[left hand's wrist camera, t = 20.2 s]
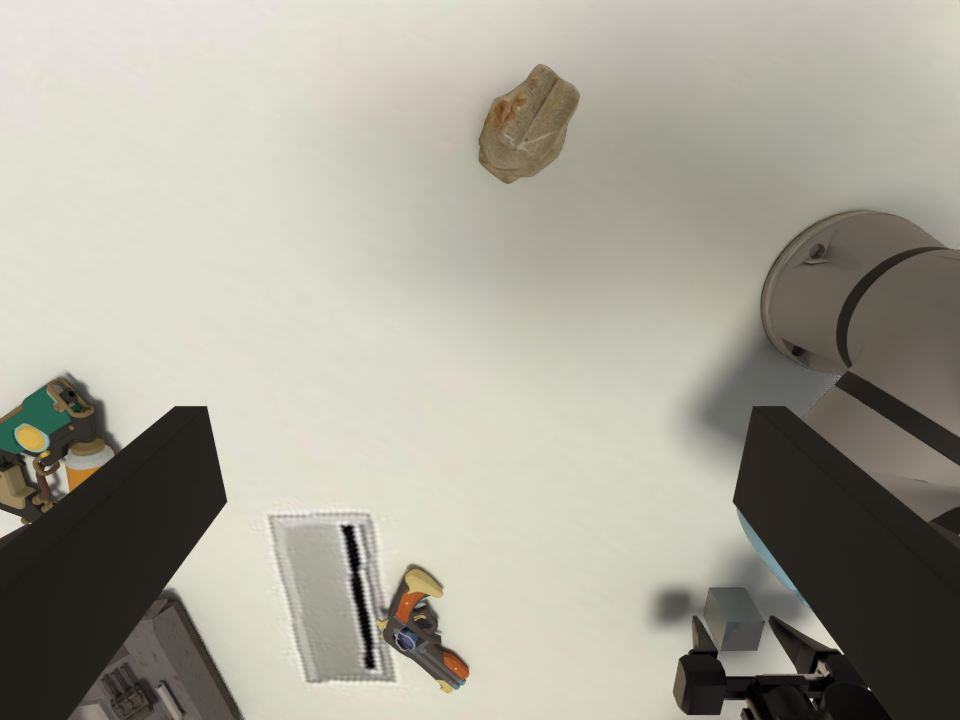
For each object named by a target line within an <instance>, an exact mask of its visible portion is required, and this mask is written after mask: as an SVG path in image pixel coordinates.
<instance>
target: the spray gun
mask: <svg viewBox="0 0 960 720" xmlns="http://www.w3.org/2000/svg"><path fill="white" fill-rule="evenodd" d="M55 382H60V383H61V384H63V385H64V387H65V388H66V389H67V390H63V389H62V388H61V387H60V386H59V385H56V384H53V383H55ZM77 401H78V402H79V403H80V404H75V403H76V402H77ZM80 405H81V406H82V407H83V408H84V409H88V410H81V411H80V407H81V406H80ZM74 439H76V440H78V441H77V442H75V443H74V444H73V445H72V447H71V450H72V451H71V452H70V453H69V454H68V448H69V442H71V441H72V440H74ZM22 451H23V452H25V453H27V454H29V455H31V456H34V457H36V458H35V459H34V461H33V467H34V469H35V470H36V477H37V481H38V484H39V486H40V488H41V490H42V492H41V493H39V494H38V493H37V492H36V490H35V489H34V488H31V487H28V486H26V484H25V481H24V478H23V475H22V472H21V469H20V467H19V466H25V465H26V462H24V461H22V460H21V458H20V453H21V452H22ZM67 454H68V455H67ZM66 455H67V459H66V464H65V465H66V471H67V477H68V483H69V490H70V492H71V491H72V490H73V489H75V488H76V487H77V486H78V485H79V484H81V483H82V482H83V481H84V480H86V479H87V478H88V477H89V476H90V475H92V474H93V473H94V472H95V471H97V470H98V469H99V468H100V467H101V466H103V465H104V464H105V463H106V462H108V461H109V460H110V459H111V458H112V457H114V456H115V455H114V452H113V450H112V449H111V448H110V447H109V446H107V445H105V441H104V440H103V439H100V438H96V428H95V416H94V407H93V406H88V405H87V404H86V403H85V402H84V401H83V400H82V399H81V398H80V396H79V395H78V394H77V393H76V392H75V391H74V390H73V388H72V387H71V386H70V385H69V384H68V383H67V382H66V381H65V380H64V379H61V378H58V379H55V380H53V381H51V382H49V383H48V384H47V385H45V386H44V387H42V388H40V389H39V390H37V391H36V392H34V393H33V394H31V395H30V396H28V397H27V398H25V399H24V401H23V403H22V405H21V406H19V407H17V408H16V409H14V410H13V411H11V412H10V413H8V414H7V415H5V416H4V417H2V418H1V419H0V509H1V510H4V511H6V512H9V513H12V514H15V515H18V516H20V517H22V518H21V522H22V523H23V524H29V523H33V522H34V521H36V520H37V519H38V518H39V517H40V516H42V515H43V514H44V513H45V512H46V511H48V510H49V509H50V508H51V507H53V506H54V505H55V504H56V503H57V502H56V501H49V500H48V497H49V495H50V488H49V486H48V484H47V482H46V479H45V476H48V475H50V474H52V473H54V472H55V471H56V470H57V469H58V468H59V467H60V463H59V461H58V460H59V459H61V458H63V457H64V456H66ZM39 461H41V462H40V463H39ZM53 463H54V467H53V468H51V469H50V470H48V471H44V468H45V467H46V466H50V465H51V464H53Z"/></svg>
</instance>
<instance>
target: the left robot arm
mask: <svg viewBox="0 0 960 720" xmlns="http://www.w3.org/2000/svg"><path fill="white" fill-rule="evenodd" d="M761 313H762V320H763V325H764V328H765V331H766V333H767V335H768V337H769V339H770V340H771V342H772V343H773V345H774V346H775V347H776V348H777V349H778V350H779V351H780V352H781V353H782V354H784V355H785V356H787V357H788V358H790V359H791V360H793V361H794V362H796V363H797V364H799V365H801V366H803V367H806V368H808V369H811V370H815V371H819V372H824V373H831V374H839V375H843V376H842V377H841V378H840V379H839V380H838V381H837V382H836V384H834V385H833V386H832V387H831V388H830V389H829V390H828V391H827V393H826V394H825V395H824V396H823V397H822V398H821V399H820V400H819V401H818V402H817V403H816V404H815V405H814V406H813V407H812V409H811V410H810V411H809V412H808V413H807V414H806V415H805V416H804V417H803V418H802V419H800V418H799V417H797V416H796V415H795V414H794V413H793V412H791V411H790V410H789V409H788V408H786V407H785V406H753V409H752V413H751V418H750V423H749V428H748V432H747V437H746V442H745V446H744V451H743V456H742V460H741V465H740V470H739V474H738V479H737V484H736V488H735V493H734V498H733V503H734V504H735V505H736V507H737V514H738V517H739V520H740V523H741V525H742V528H743V530H744V532H745V534H746V535H747V537H748V539H749V541H750V542H751V544H752V545H753V547H754V548H755V550H756V551H757V553H758V554H759V556H760V557H761V558H762V560H763V561H764V562H765V563H766V565H767V566H768V567H769V568H770V570H771V571H772V572H773V573H774V574H775V575H776V577H777V578H778V579H779V580H780V581H781V582H782V583H783V584H784V585H785V586H786V587H787V588H788V589H789V590H793V591H795V592H796V594H797V595H798V596H799V598H800V599H801V601H802V602H803V603H804V604H805V605H806V606H807V607H809V608H810V609H811V610H812V611H813V612H814V613H815V615H816V616H817V617H818V619H819V620H820V622H821V623H822V624H823V626H824V627H825V628H826V630H827V631H828V632H829V634H830V635H831V637H832V638H833V639H834V641H835V642H836V643H837V645H838V646H839V647H840V649H841V650H842V652H843V653H844V654H845V656H846V657H847V658H848V660H849V661H850V662H851V664H852V665H853V667H854V668H855V669H856V671H857V672H858V673H859V675H860V676H861V677H862V679H863V680H864V682H865V683H866V684H867V686H868V687H869V688H870V690H871V691H872V693H873V694H874V695H875V697H876V698H877V699H878V701H879V702H880V703H881V705H882V706H883V708H884V709H885V710H886V712H887V713H888V714H889V716H890V717H891V718H892V720H960V251H959V250H953V249H948V248H947V247H945V246H944V245H943V244H941V243H940V242H939V241H937V240H936V239H934V238H933V237H932V236H930V235H929V234H928V233H926V232H925V231H923V230H922V229H921V228H920V227H918V226H917V225H915V224H913V223H912V222H910V221H908V220H906V219H904V218H901V217H898V216H895V215H890V214H885V213H878V212H869V211H857V212H849V213H844V214H840V215H837V216H833V217H831V218H828V219H826V220H824V221H821V222H819V223H817V224H816V225H814V226H812V227H811V228H809V229H808V230H806V231H805V232H803V233H802V234H801V235H800V236H798V237H797V238H796V239H795V240H794V241H793V242H792V243H791V244H790V245H789V246H788V247H787V248H786V249H785V250H784V251H783V253H782V254H781V255H780V257H779V258H778V259H777V261H776V263H775V264H774V266H773V267H772V269H771V271H770V273H769V276H768V278H767V281H766V283H765V287H764V290H763V295H762V304H761ZM841 389H842V390H841ZM844 391H845V392H844ZM846 392H847V393H846ZM849 394H850V395H849ZM852 396H853V397H852ZM854 397H855V398H856V399H855V398H854ZM857 399H858V400H859V401H858V400H857ZM860 401H861V402H860ZM863 403H864V404H863ZM866 405H867V406H866ZM868 406H869V407H870V408H869V407H868ZM871 408H872V409H873V410H872V409H871ZM874 410H875V411H876V412H875V411H874ZM877 412H878V413H877ZM880 414H881V415H880ZM883 416H884V417H883ZM886 418H887V419H886ZM888 419H889V420H890V421H889V420H888ZM891 421H892V422H891ZM894 423H895V424H894ZM896 424H897V425H898V426H897V425H896ZM899 426H900V427H901V428H900V427H899ZM902 428H903V429H904V430H903V429H902ZM905 430H906V431H907V432H906V431H905ZM908 432H909V433H908ZM911 434H912V435H911ZM914 436H915V437H914ZM917 438H918V439H917ZM919 439H920V440H921V441H920V440H919ZM922 441H923V442H924V443H923V442H922ZM925 443H926V444H925ZM928 445H929V446H928ZM931 447H932V448H931ZM934 449H935V450H934ZM937 451H938V452H937ZM954 462H955V463H954ZM226 503H227V498H226V493H225V488H224V484H223V479H222V474H221V470H220V465H219V460H218V456H217V451H216V446H215V442H214V437H213V432H212V428H211V423H210V418H209V413H208V409H207V406H175V407H174V408H172V409H171V410H170V411H169V412H167V413H166V414H165V415H164V416H163V417H161V418H160V419H159V420H158V421H156V422H155V423H154V424H153V425H152V426H150V427H149V428H148V429H147V430H145V431H144V432H143V433H142V434H141V435H139V436H138V437H137V438H136V439H134V440H133V441H132V442H131V443H130V444H128V445H127V446H126V447H125V448H123V449H122V450H121V451H120V452H119V453H117V454H116V455H115V456H114V457H112V458H111V459H110V460H109V461H108V462H106V463H105V464H104V465H103V466H101V467H100V468H99V469H98V470H97V471H95V472H94V473H93V474H92V475H90V476H89V477H88V478H87V479H86V480H84V481H83V482H82V483H81V484H79V485H78V486H77V487H76V488H75V489H73V490H72V491H71V492H70V493H68V494H67V495H66V496H65V497H64V498H62V499H61V500H60V501H59V502H57V503H56V504H55V505H54V506H53V507H51V508H50V509H49V510H48V511H46V512H45V513H44V514H43V515H42V516H40V517H39V518H38V519H37V520H36V521H34V522H33V523H32V524H26V525H24V526H22V527H20V528H19V529H17V530H15V531H13V532H11V533H9V534H7V535H6V536H4V537H2V538H0V720H68V718H69V717H70V716H71V714H72V713H73V712H74V710H75V709H76V708H77V706H78V705H79V703H80V702H81V701H82V699H83V698H84V697H85V695H86V694H87V693H88V691H89V690H90V688H91V687H92V686H93V684H94V683H95V682H96V680H97V679H98V677H99V676H100V675H101V673H102V672H103V671H104V669H105V668H106V667H107V665H108V664H109V662H110V661H111V660H112V658H113V657H114V656H115V654H116V653H117V652H118V650H119V649H120V647H121V646H122V645H123V643H124V642H125V641H126V639H127V638H128V637H129V635H130V634H131V632H132V631H133V630H134V628H135V627H136V626H137V624H138V623H139V622H140V620H141V619H142V617H143V616H144V615H145V613H146V612H147V611H148V609H149V608H150V607H151V605H152V604H153V602H154V601H155V600H156V598H157V597H158V596H159V594H160V593H161V591H162V590H163V589H164V587H165V586H166V585H167V583H168V582H169V581H170V579H171V578H172V576H173V575H174V574H175V572H176V571H177V570H178V568H179V567H180V566H181V564H182V563H183V561H184V560H185V559H186V557H187V556H188V555H189V553H190V552H191V551H192V549H193V548H194V546H195V545H196V544H197V542H198V541H199V540H200V538H201V537H202V536H203V534H204V533H205V531H206V530H207V529H208V527H209V526H210V525H211V523H212V522H213V520H214V519H215V518H216V516H217V515H218V514H219V512H220V511H221V510H222V508H223V507H224V505H225V504H226Z"/></svg>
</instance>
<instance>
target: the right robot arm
mask: <svg viewBox="0 0 960 720" xmlns="http://www.w3.org/2000/svg"><path fill="white" fill-rule="evenodd" d="M769 624H770V626H771V628H772V630H773V632H774V634H775V636H776V637H777V639H778V640H779V642H780V644H781V645H782V647H783V648H784V650H785V652H786V653H787V655H788V656H789V658H790V660H791V661H792V663H793V664H794V666H795V668H796V670H797V673H798V674H763V675H756V676H726V675H725V670H724V668H723V666H722V664H721V662H720V661H719V660H717V655H718V651H717V649H716V647H715V645H714V643H713V642H712V640H711V638H710V636H709V635H708V633H707V631H706V629H705V627H704V626H703V624H702V622H701V621H700V620H699V618H698V617H697V616H693V619H692V632H693V649H691V650H690V651H689V652H688V655H684V656H682V657H681V658H679V663H678V668H677V673H676V678H675V683H674V689H673V694H674V697H675V699H676V702H677V705H678V707H679V708H680V709H681V710H682V711H683V712H684V713H685V714H687V715H720V713H721V709H722V705H723V700H745V701H746V703H747V705H748V707H747V708H743V709H742V712H741V718H742V720H892V718H891V717H890V716H889V714H888V713H887V712H886V710H885V709H884V708H883V706H882V705H881V703H880V702H879V701H878V699H877V698H876V697H875V695H874V694H873V693H872V691H870V690H868V686H867V684H866V683H865V682H864V680H863V679H862V677H861V676H860V675H859V673H858V672H857V671H856V669H855V668H854V667H853V665H852V664H851V662H850V661H849V660H848V658H847V657H846V656H845V655H842V654H841V652H840V651H839V650H838V649H831V648H829V647H827V646H825V645H823V644H821V643H819V642H817V641H815V640H814V639H812V638H810V637H808V636H806V635H804V634H803V633H801V632H799V631H797V630H796V629H794V628H793V627H791V626H789V625H788V624H786V623H784V622H783V621H781V620H780V619H778V618H776V617H775V616H770V618H769ZM809 698H813V701H812V702H811V701H810V699H809ZM812 703H813V704H812ZM813 705H814V706H813ZM815 708H816V709H815ZM816 710H817V711H816Z"/></svg>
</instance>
